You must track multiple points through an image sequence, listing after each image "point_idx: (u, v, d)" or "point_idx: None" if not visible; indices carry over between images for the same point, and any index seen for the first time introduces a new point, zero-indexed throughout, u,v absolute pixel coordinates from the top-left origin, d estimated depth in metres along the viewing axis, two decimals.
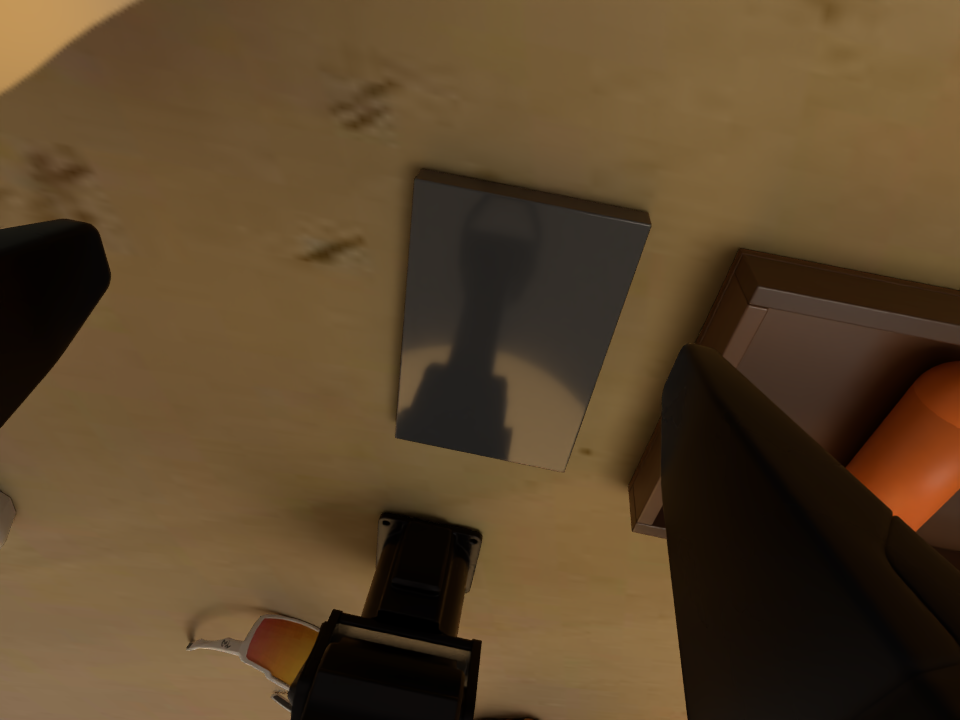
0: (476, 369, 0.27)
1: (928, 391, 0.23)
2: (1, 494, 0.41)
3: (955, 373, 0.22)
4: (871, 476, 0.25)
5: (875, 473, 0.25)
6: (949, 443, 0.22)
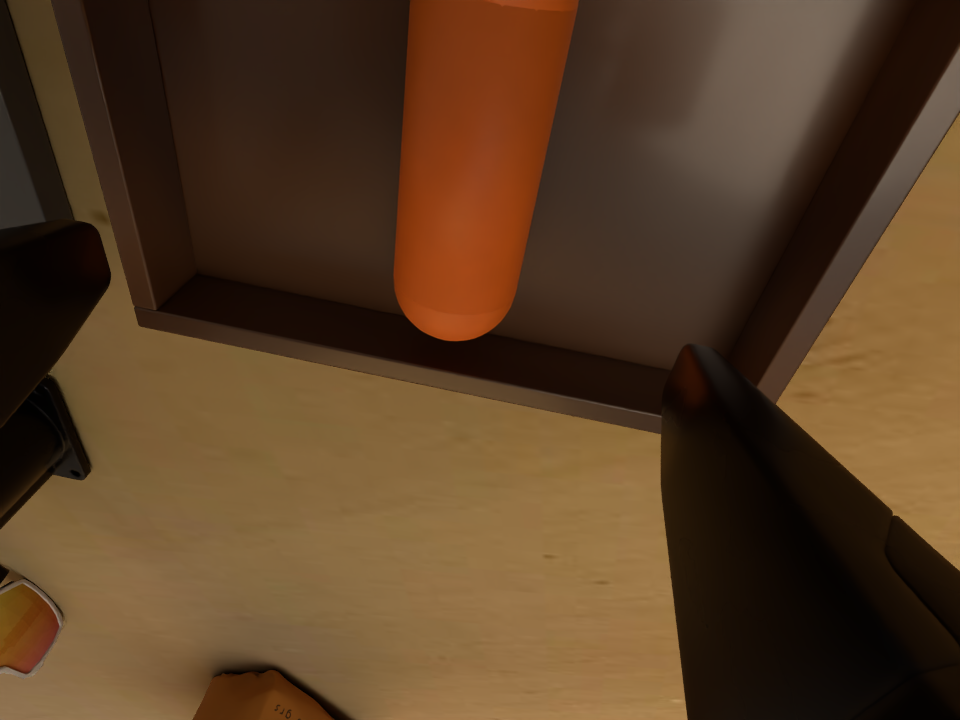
0: None
1: None
2: None
3: None
4: (401, 169, 0.14)
5: (401, 160, 0.14)
6: (439, 36, 0.12)
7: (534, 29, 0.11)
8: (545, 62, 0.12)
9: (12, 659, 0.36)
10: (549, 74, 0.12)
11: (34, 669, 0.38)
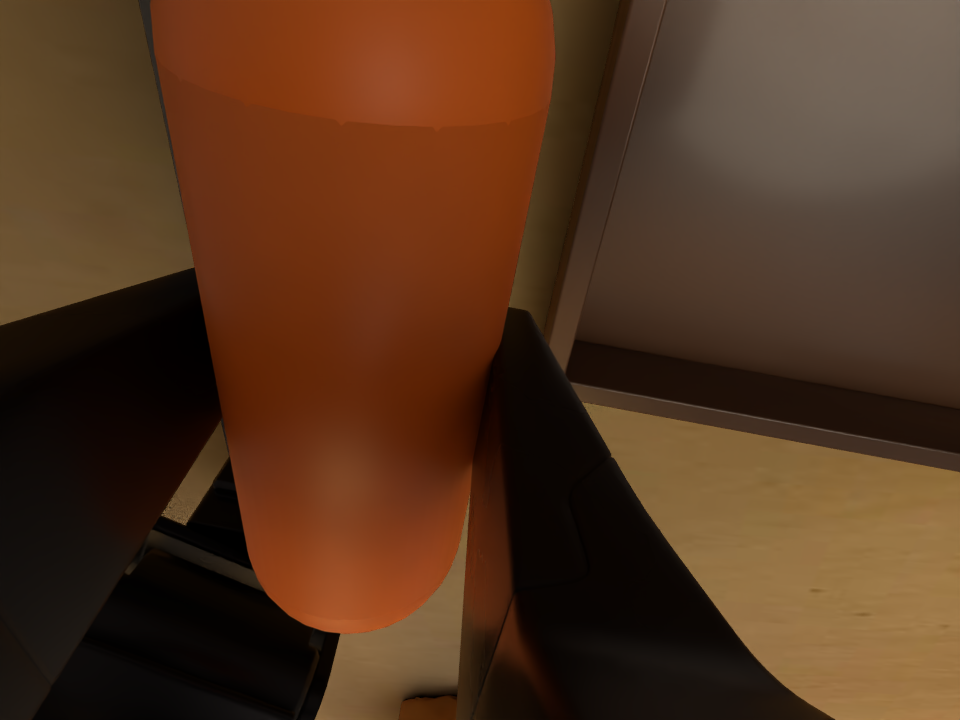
0: None
1: None
2: None
3: None
4: None
5: None
6: (209, 182, 0.05)
7: (439, 172, 0.05)
8: (474, 232, 0.05)
9: None
10: (487, 250, 0.05)
11: None
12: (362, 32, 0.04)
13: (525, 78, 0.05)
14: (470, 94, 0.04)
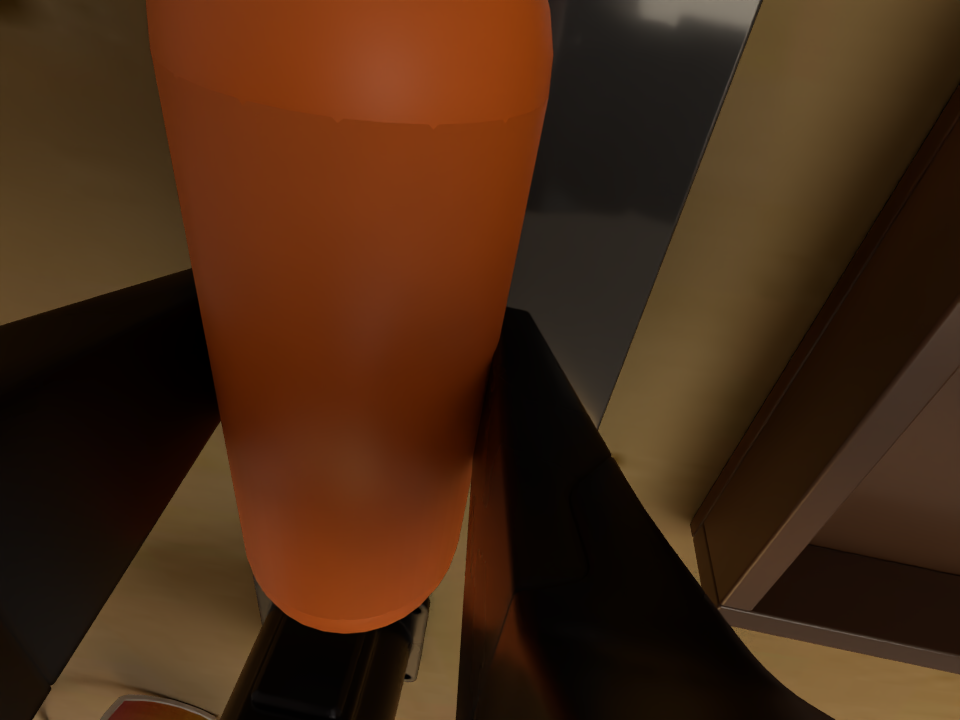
0: None
1: None
2: None
3: None
4: None
5: None
6: (205, 180, 0.05)
7: (435, 169, 0.05)
8: (471, 230, 0.05)
9: None
10: (485, 248, 0.05)
11: None
12: (357, 29, 0.04)
13: (522, 75, 0.05)
14: (467, 92, 0.04)
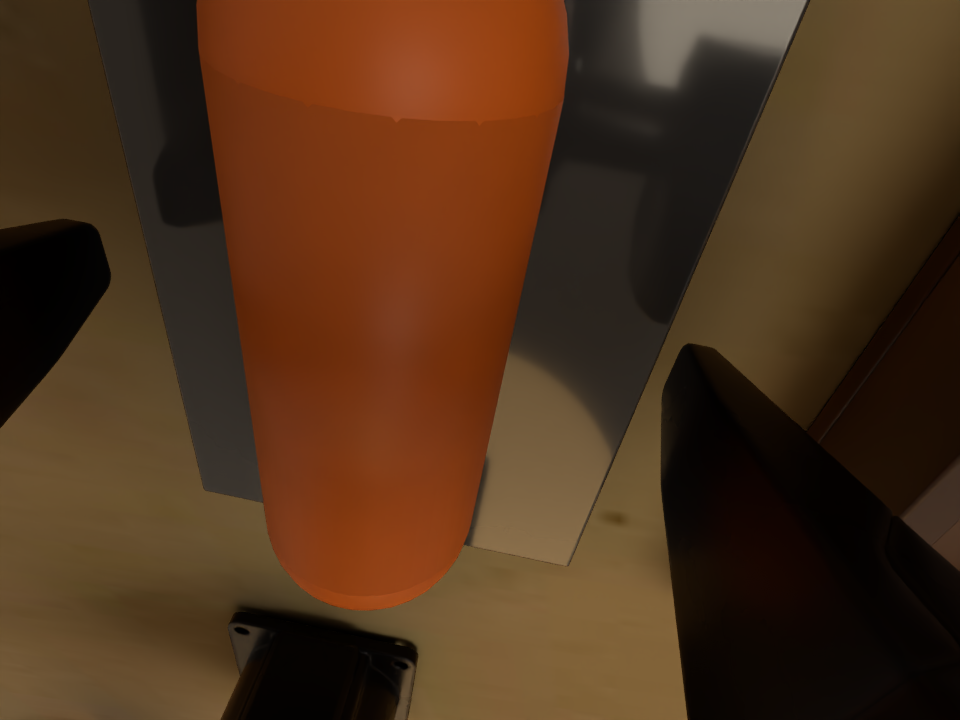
0: None
1: None
2: None
3: None
4: (246, 377, 0.08)
5: (244, 365, 0.08)
6: (261, 178, 0.05)
7: (478, 162, 0.05)
8: (505, 216, 0.06)
9: None
10: (514, 233, 0.06)
11: None
12: (418, 36, 0.04)
13: (551, 74, 0.05)
14: (508, 90, 0.05)
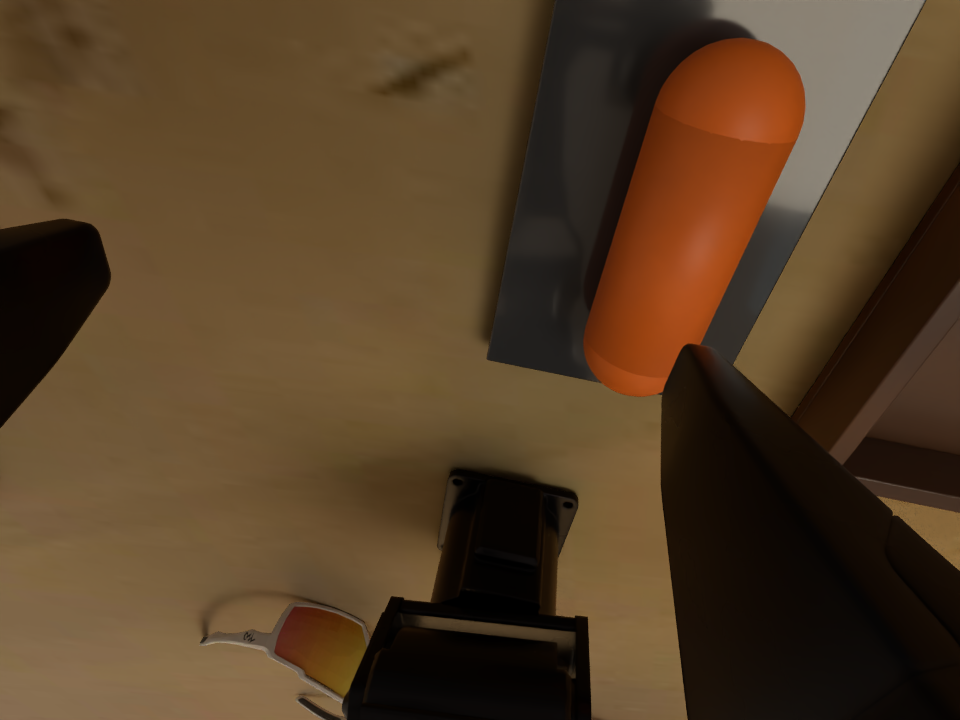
0: None
1: (669, 93, 0.14)
2: None
3: (702, 52, 0.14)
4: (624, 263, 0.16)
5: (627, 256, 0.16)
6: (706, 167, 0.14)
7: (783, 156, 0.14)
8: (778, 177, 0.15)
9: None
10: (775, 184, 0.15)
11: None
12: (782, 117, 0.13)
13: (802, 123, 0.14)
14: (797, 131, 0.14)
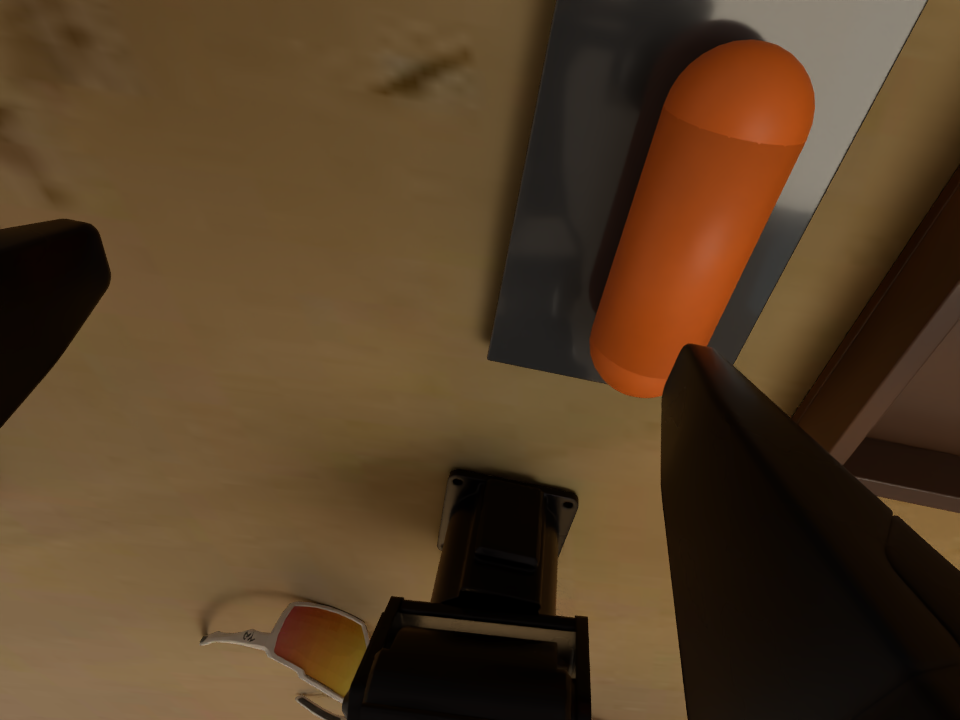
0: None
1: (682, 97, 0.14)
2: None
3: (713, 55, 0.14)
4: (636, 268, 0.16)
5: (639, 261, 0.16)
6: (723, 170, 0.14)
7: (795, 157, 0.14)
8: (788, 177, 0.15)
9: None
10: None
11: None
12: (797, 119, 0.13)
13: None
14: (808, 132, 0.14)
